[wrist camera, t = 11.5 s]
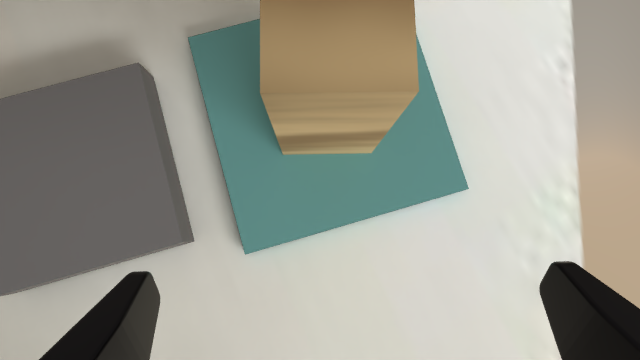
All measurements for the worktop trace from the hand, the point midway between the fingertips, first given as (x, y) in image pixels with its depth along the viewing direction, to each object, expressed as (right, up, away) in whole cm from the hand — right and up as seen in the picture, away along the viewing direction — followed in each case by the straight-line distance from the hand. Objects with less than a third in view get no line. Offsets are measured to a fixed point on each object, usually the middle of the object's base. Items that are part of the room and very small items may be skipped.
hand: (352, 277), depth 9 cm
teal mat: (0, +6, +14) cm, 15 cm away
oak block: (0, +6, +14) cm, 15 cm away
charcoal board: (-14, +2, +13) cm, 20 cm away
